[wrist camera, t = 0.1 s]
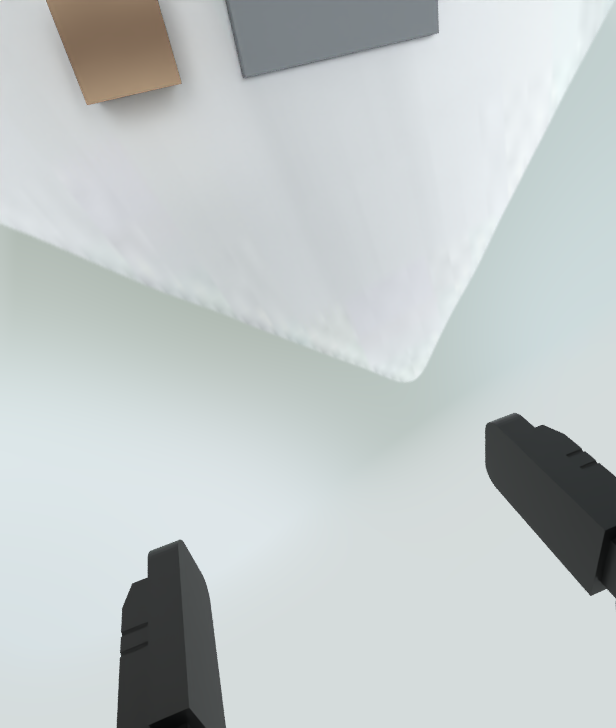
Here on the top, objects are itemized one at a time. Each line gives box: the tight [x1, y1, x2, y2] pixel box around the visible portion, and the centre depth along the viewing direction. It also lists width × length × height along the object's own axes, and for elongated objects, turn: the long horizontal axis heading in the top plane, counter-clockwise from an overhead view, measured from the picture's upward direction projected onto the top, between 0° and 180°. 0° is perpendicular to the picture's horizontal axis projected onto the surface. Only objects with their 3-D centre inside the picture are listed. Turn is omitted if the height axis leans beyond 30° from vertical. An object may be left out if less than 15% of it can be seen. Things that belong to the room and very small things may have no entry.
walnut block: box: [46, 0, 182, 105], centre depth 26 cm, size 5×5×7 cm
